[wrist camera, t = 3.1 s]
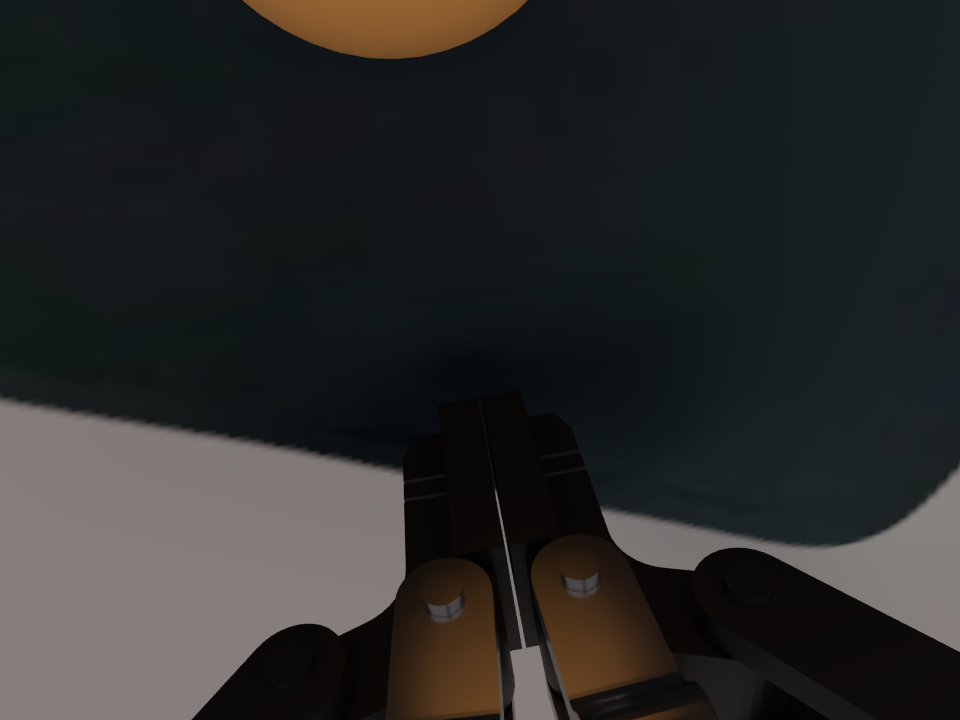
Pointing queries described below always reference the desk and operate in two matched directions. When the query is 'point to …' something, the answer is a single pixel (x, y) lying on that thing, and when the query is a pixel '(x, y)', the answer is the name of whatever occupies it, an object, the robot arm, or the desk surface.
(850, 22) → the desk surface
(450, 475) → the robot arm
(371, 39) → the ball
